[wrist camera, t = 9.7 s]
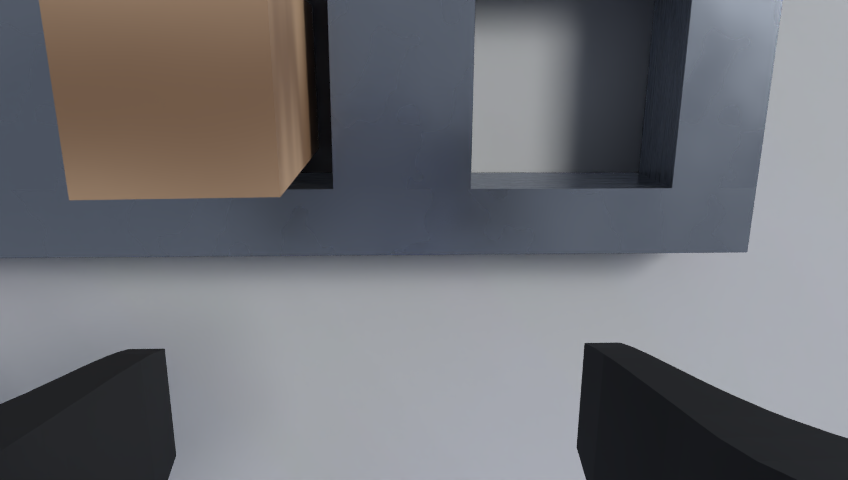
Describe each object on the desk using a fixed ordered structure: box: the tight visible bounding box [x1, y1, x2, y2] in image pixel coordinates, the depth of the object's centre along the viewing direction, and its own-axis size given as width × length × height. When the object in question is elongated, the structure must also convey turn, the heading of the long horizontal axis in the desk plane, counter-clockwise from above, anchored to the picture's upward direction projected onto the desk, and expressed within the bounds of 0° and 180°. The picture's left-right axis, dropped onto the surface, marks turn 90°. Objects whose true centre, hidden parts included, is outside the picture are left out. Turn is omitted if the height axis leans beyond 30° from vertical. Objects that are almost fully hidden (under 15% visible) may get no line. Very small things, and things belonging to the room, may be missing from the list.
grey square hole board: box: [0, 0, 783, 258], centre depth 18 cm, size 9×28×2 cm, turn 90°
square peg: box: [39, 0, 319, 200], centre depth 16 cm, size 4×4×7 cm
